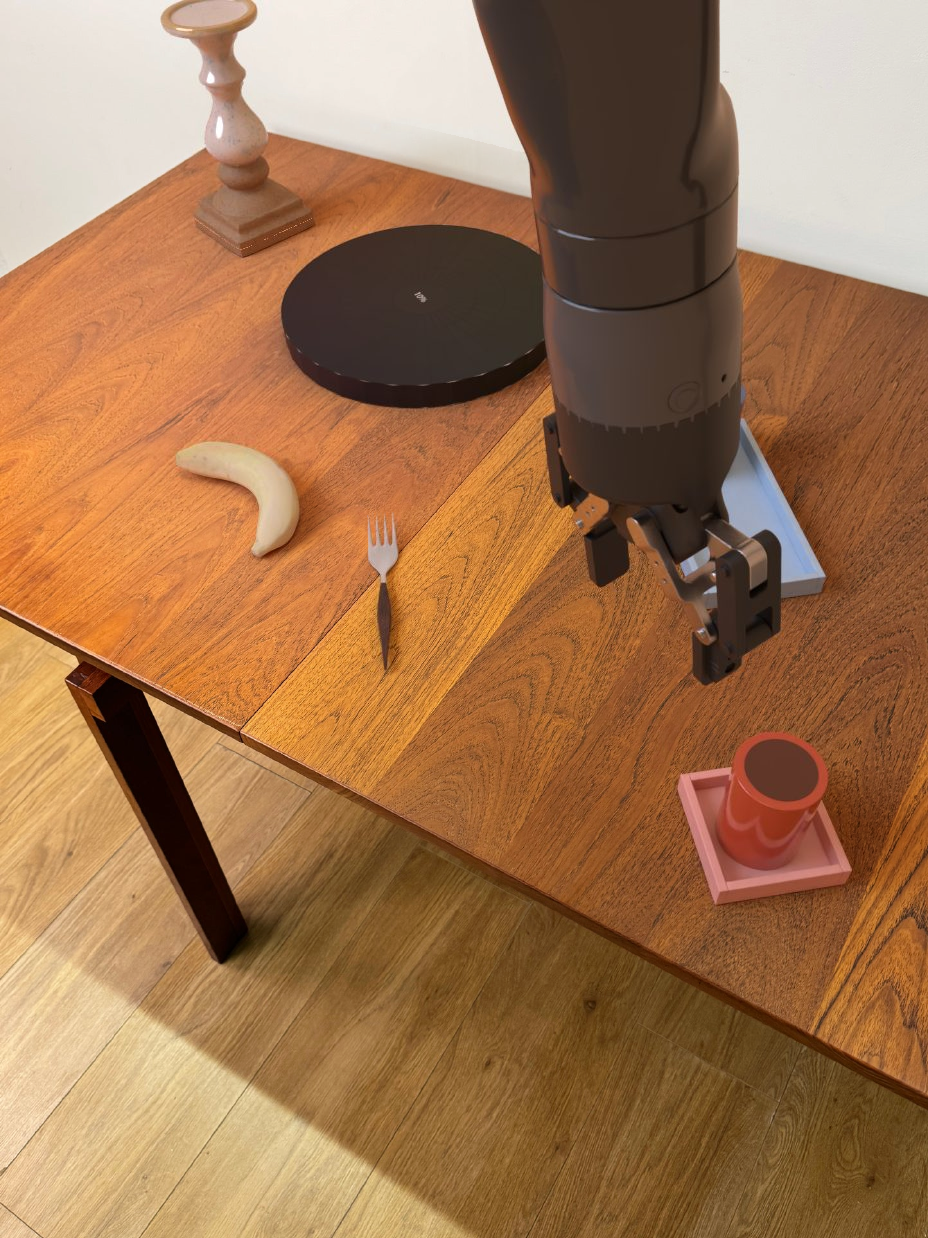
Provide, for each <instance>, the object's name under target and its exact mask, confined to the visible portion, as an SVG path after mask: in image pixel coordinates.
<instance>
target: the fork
mask: <svg viewBox="0 0 928 1238" xmlns="http://www.w3.org/2000/svg"><path fill="white" fill-rule="evenodd" d="M391 515H392V516H391V521H392V522H391V526H392V529H391V531H392V532H391V533H392V534H391V535H392V543H391V544H390V542H389V541H390V540H389V533H388V527H387V519H386V518H387V517H386V513H384V514H383V527H384V528H383V538H384V539H383V541H384V542H383V545H382V543H381V536H380V535H381V534H380V527H379V521H378V514H375V541H376V542H375V545H374V543H373V537H372V530H371V521H370V515H369V514H368V515H367V559H368V562H369V563H370V565H371V566H372V568H374V569H375V570H376V571H377V573H379V575H380V585H379V591H378V600H377V601H378V602H377V607H376V608H377V609H376V618H377V627H378V631H379V632H378V633H379V638H380V639H379V640H380V646H381V653H382V661H383V670H384V671H387V670H388V660H389V648H390V647H389V646H390V645H389V644H390V635H391V627H392V608H391V602H390V596H389V591H388V590H389V589H388V584H387V574H388V572H389V571H390V570H392V568H393V567H394V566H395V565H396V563H397V561H398V559H399V547H398V540H397V531H396V524H395V519H394V512H392V513H391Z"/></svg>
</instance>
